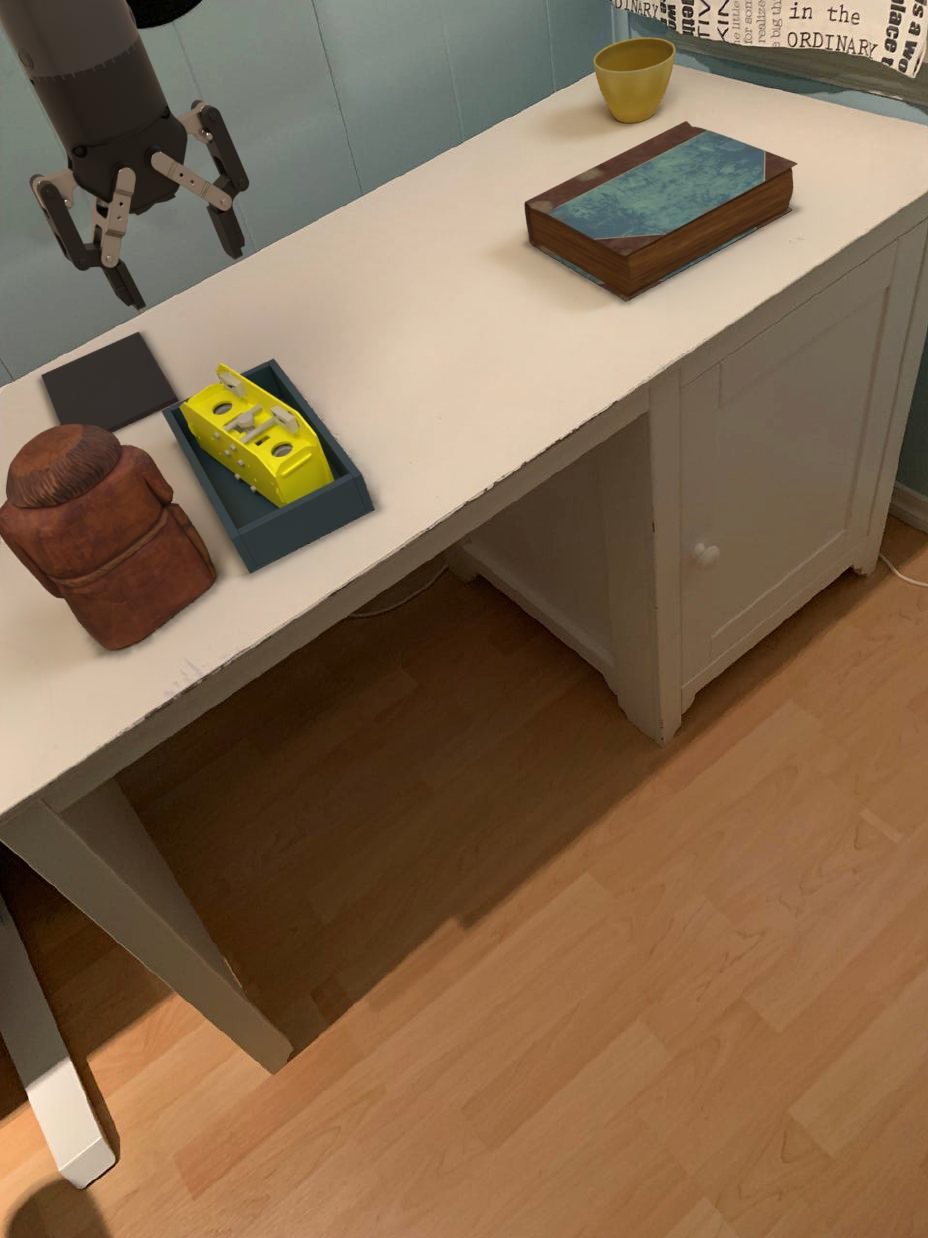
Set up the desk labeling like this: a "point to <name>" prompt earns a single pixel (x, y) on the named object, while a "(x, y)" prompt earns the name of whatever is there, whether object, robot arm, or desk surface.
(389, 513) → the desk surface
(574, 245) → the book
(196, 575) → the wooden figurine
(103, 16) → the robot arm
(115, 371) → the mat
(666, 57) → the flower pot
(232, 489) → the bin
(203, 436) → the yellow toy chassis
